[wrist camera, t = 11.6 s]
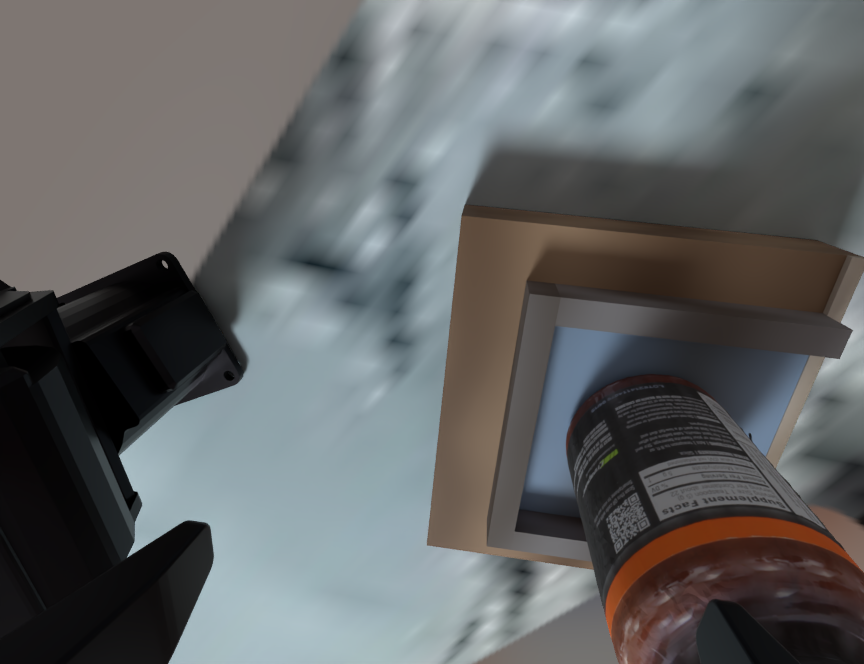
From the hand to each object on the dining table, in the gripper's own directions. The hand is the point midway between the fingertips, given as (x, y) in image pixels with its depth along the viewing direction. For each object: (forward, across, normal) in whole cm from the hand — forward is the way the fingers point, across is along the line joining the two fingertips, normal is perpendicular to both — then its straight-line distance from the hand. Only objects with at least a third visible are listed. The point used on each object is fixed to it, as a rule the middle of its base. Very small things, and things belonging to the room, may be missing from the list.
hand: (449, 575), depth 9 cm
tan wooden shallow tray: (+13, -6, +3) cm, 15 cm away
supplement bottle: (+10, -7, +3) cm, 13 cm away
